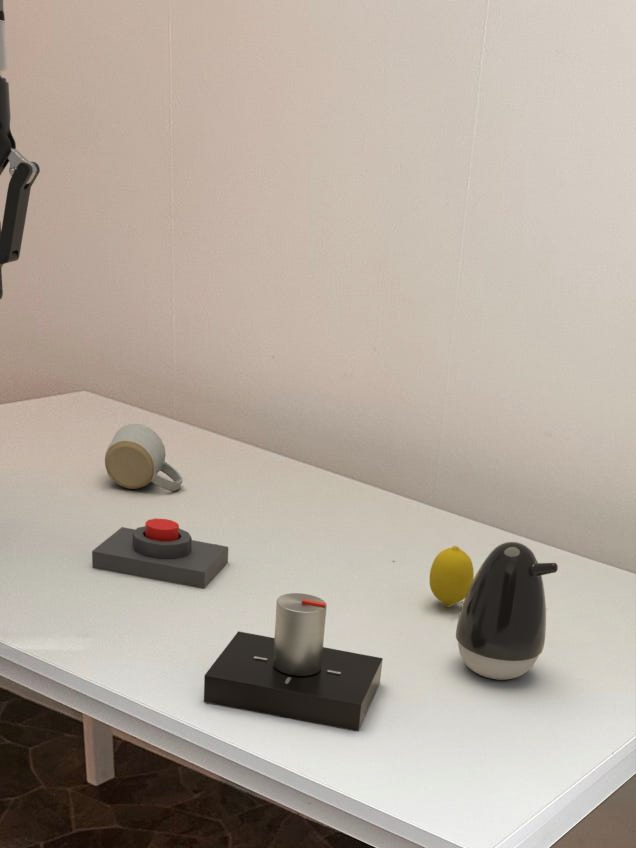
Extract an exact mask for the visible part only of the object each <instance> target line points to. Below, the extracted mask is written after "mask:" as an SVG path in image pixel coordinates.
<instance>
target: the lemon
mask: <svg viewBox="0 0 636 848" xmlns="http://www.w3.org/2000/svg"><path fill="white" fill-rule="evenodd" d="M474 573H475V571H474V565H473V561H472V559H471V558H470V556H469V555H468V554H467V553H466V551H464V550H463V549H461V548H460V547H459V546H457V545H453V546H451V547H448V548H445V549H443V550H442V551H440V552H439V553H438V554H436V556H435V558H434V559H433V561H432V564H431V566H430V571H429V587H430V591H431V593H432V594H433V597H435V598H436V599H437V600H438V601H439V602H441V603H442V605H444V607H447V608H450V607H451V606H453V605H454V604H458V603H460V602H462V601H464V600H465V597H466V595H467V592H468V590H469V588H470V586H471V583H472V581H473V579H474V578H475V575H474Z"/></svg>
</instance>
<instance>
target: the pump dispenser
mask: <svg viewBox="0 0 636 848" xmlns="http://www.w3.org/2000/svg"><path fill="white" fill-rule="evenodd" d="M558 568H559V566H558V564H557V562H538V559H537V557H536V555H535V554H534V552H533V550H531V548H529V547H528V546H527V545H525V544H524V543H520V542H518V541H507V542H502V543H501V544H499V545H497V546H496V547H494V549H492V550H491V552H490V553H489V554H488V555H487V557H485V559H484V561H483V562H482V564H481V565H480V567H479V569H478V570H477V572H476V574H475V575H474V577H473V581H472V583H471V586H470V588H469V590H468V592H467V595H466V597H465V599H463V603H462V607H461V609H460V612H459V616H458V620H457V624H456V630H455V639H456V641H457V645H458V651H459V655H460V657H461V659H462V661H463V663H464V664H465V665H466V666H467V667H468V668H469V669H470V670H471V671H472V672H474V673H476V674H477V675H479V676H481V677H484V678H487V679H491V680H497V681H498V680H499V681H505V680H511V679H512V680H513V679H516V678H519V677H522V676H524V674H526V673H527V672H529V671H530V670H531V669H532V668H533V667H534V665H535V663H536V661H537V660H538V658H539V656H540V655H541V654H542V653H543V652H544V647H545V642H546V634H547V633H546V630H547V602H546V594H545V586H544V582H543V581H544V580H543V576H545V575H550V574H555V573H557V572H558V570H559V569H558Z"/></svg>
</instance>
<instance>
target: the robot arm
mask: <svg viewBox="0 0 636 848" xmlns="http://www.w3.org/2000/svg"><path fill="white" fill-rule="evenodd" d="M4 10H5V9H4V0H0V176H2V174H3V172H4V171H5V169H6V167H7V166H8V164H9V169H8V172H9V175H10V176H11V177H10V179H9V182H8V187H7V191H6V198H5V204H4V211H3V216H2V224H1V222H0V300H2V299H3V295H4V289H3V273H2V268H3V266H4V265H5V264H9V263H12V262H16V261H18V260H19V259H20V255H21V249H22V244H23V238H24V230H25V225H26V219H27V213H28V206H29V201H30V195H31V194H30V193H31V188H32V186H33V184H34V182H35V181H36V179H37V178H38V176H39V174H40V171H41V168H40V165H39V164H38V163H37V162H36V161H30V160H29V159H28V158H27V157H25V156H24V155H23V154H22V153H21V152H19V150H18V149H17V143H16V141H15V138H14V136H13V133H12V131H11V101H10V100H11V99H10V85H9V82H8V81H7V78H5V77H3V76H2V72H6V70H7V69H8V68H9V67H8V54H7V52H8V51H7V36H6V22H5V21H6V20H5V18H6V17H5V11H4Z"/></svg>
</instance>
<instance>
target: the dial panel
mask: <svg viewBox="0 0 636 848" xmlns="http://www.w3.org/2000/svg"><path fill="white" fill-rule="evenodd" d="M274 638H275V637H271V636H265V635H260V634H256V633H250V632H244V631H239V630H238V631H237V632H236V634H235V635H234V636H233V637H232V638H231V640H230V641H229V643H228V644H227V645H226V647H225V648H224V649H223V651H222V652H221V653H220V655H219V656H218V657H217V659H216V660H215V661H214V662H213V663H212V665H211V666H210V667H209V669H208V670H207V672H206V673H205V674H204V675H203V676H204V679H203V680H204V681H203V682H204V683H203V703H207V704H212V705H218V706H223V707H229V708H234V709H238V710H239V709H240V710H244V711H249V712H256V713H260V714H266V715H271V716H276V717H280V718H281V717H282V718H288V719H291V720H292V719H293V720H297V721H298V720H299V721H303V722H307V723H308V722H309V723H312V724H313V723H315V724H318V725H325V726H329V725H330V726H329V727H335V726H336V728H340V727H342V728H341V729H345V728H347V729H346V730H351V729H352V730H351V731H356V730H357V731H356V732H359V730H360V728H361V726H362V724H363V722H364V720H365V718H366V715H367V713H368V711H369V709H370V706H371V704H372V702H373V700H374V697H375V695H376V693H377V691H378V689H379V686H380V684H381V676H382V669H383V659H384V658H383V657H379V656H374V655H373V656H372V655H366V654H362V653H358V652H357V653H356V652H353V651H352V652H351V651H347V650H341V649H335V648H331V647H325V646H323V654H322V666H321V670H320V671H319V672H318V673H316V674H313V675H309V676H294V675H289V674H285V673H282V672H280V671H278V670H277V669H276V668H275V667H274V665H273V654H274Z"/></svg>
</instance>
